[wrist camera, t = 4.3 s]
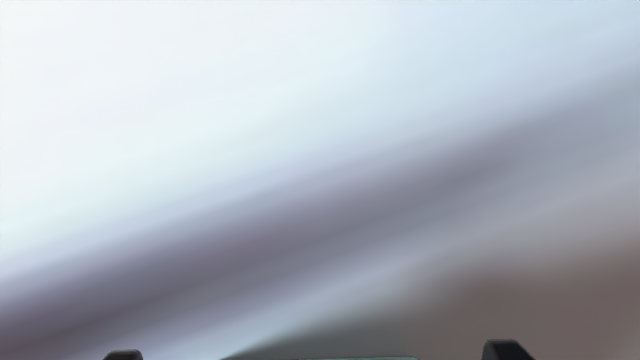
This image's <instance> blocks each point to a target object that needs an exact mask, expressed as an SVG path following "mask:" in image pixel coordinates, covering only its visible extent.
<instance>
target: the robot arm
mask: <svg viewBox="0 0 640 360" xmlns="http://www.w3.org/2000/svg"><path fill="white" fill-rule="evenodd" d="M103 360H143V357H142V354H141V353H140V351H138V350H114V351H111V352H110V353H108V354H107V355H106V356H105V357H104V358H103ZM481 360H535V359H534V358H533V357H532V356H531V355H530V354H529V353H528V352H527V351H526V350H525V349H524V348H523V347H522V346H521V345H520V344H519V343H518V342H517V341H515V340H513V339H491V340H488V341H487V342H486V343H485V345H484V349H483V354H482V359H481Z"/></svg>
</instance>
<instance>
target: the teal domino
mask: <svg viewBox="0 0 640 360" xmlns="http://www.w3.org/2000/svg"><path fill="white" fill-rule="evenodd" d="M301 360H419V359H416V358H414V357H375V358H338V359H301Z"/></svg>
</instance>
